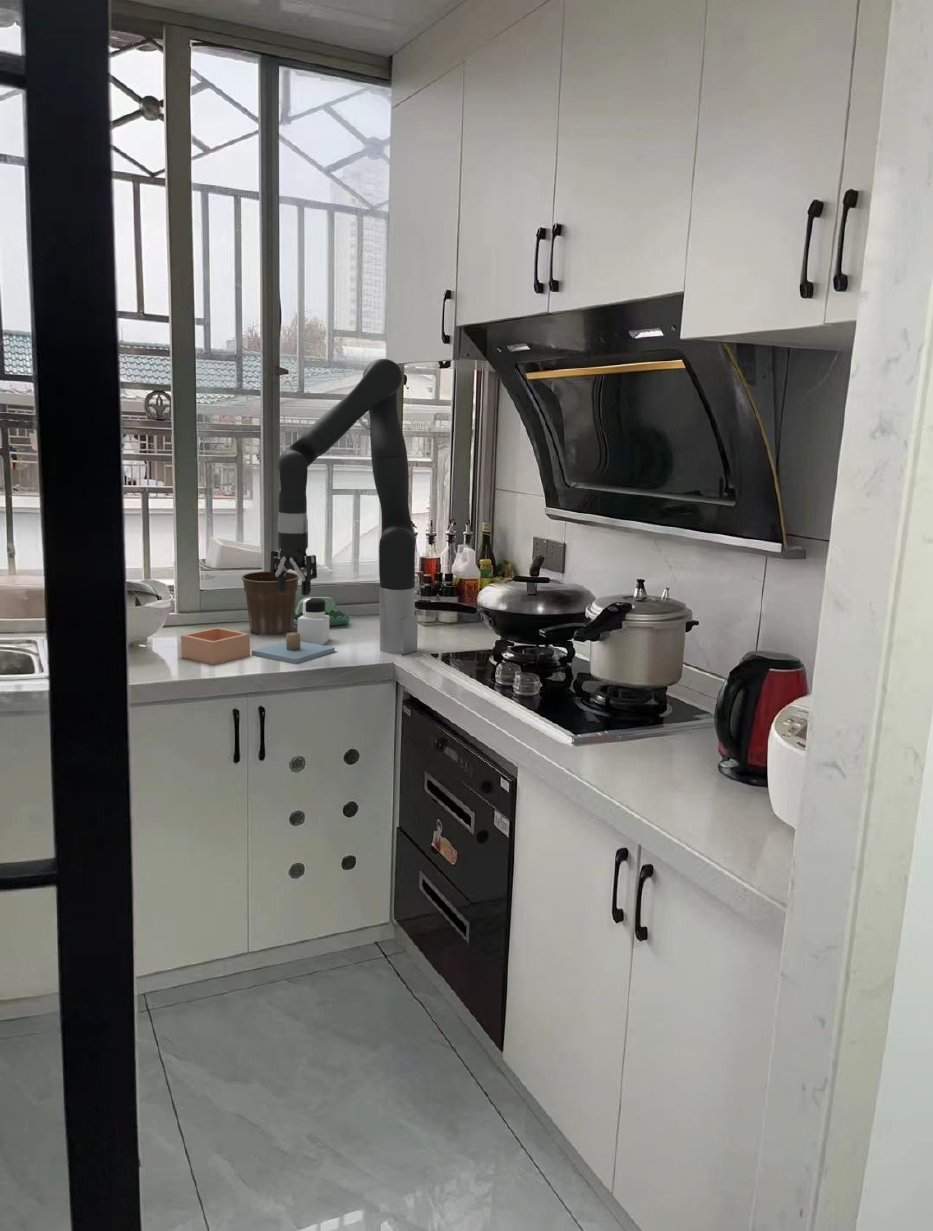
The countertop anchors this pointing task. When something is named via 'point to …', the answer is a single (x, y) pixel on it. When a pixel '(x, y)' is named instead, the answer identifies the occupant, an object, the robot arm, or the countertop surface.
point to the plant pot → (270, 602)
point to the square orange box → (215, 645)
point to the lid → (293, 650)
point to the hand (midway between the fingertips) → (293, 593)
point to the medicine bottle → (314, 622)
